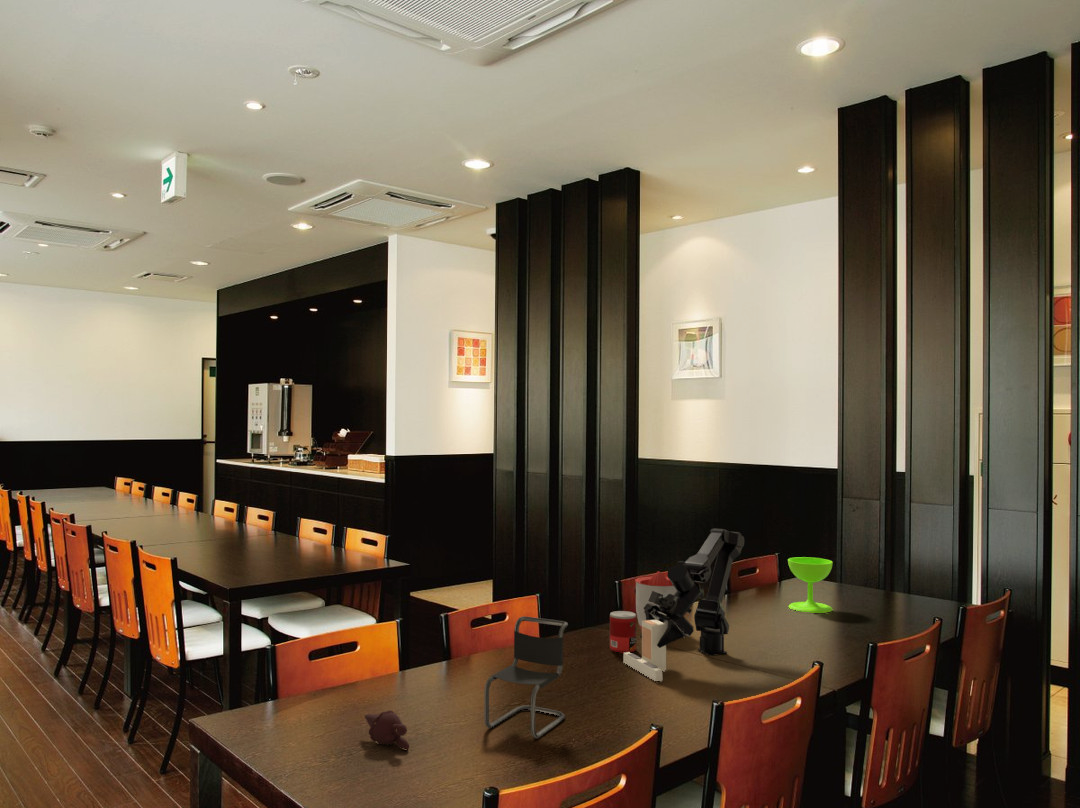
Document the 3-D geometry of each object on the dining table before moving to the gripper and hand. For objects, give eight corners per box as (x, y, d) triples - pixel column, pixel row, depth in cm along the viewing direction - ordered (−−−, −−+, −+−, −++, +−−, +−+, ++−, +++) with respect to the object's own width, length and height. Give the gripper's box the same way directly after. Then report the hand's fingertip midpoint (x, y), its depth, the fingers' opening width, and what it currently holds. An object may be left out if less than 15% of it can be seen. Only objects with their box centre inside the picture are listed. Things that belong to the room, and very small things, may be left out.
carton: (655, 665, 224) (655, 619, 224) (666, 671, 219) (666, 623, 219) (641, 667, 222) (641, 620, 222) (651, 673, 217) (651, 624, 217)
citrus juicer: (684, 640, 250) (684, 577, 251) (630, 635, 256) (630, 573, 257) (691, 628, 265) (691, 569, 266) (640, 624, 271) (640, 566, 271)
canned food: (635, 654, 235) (635, 617, 235) (608, 652, 236) (608, 615, 237) (637, 647, 242) (637, 611, 243) (611, 646, 244) (611, 610, 244)
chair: (570, 716, 184) (570, 621, 185) (534, 742, 169) (534, 639, 169) (521, 707, 190) (522, 615, 191) (482, 731, 175) (483, 631, 175)
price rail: (629, 662, 227) (629, 651, 227) (662, 681, 210) (662, 669, 210) (623, 663, 226) (623, 652, 226) (655, 682, 209) (655, 669, 209)
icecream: (348, 709, 170) (389, 734, 160) (376, 693, 175) (418, 716, 165) (353, 738, 171) (394, 764, 161) (381, 720, 177) (423, 745, 166)
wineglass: (839, 614, 287) (839, 564, 288) (795, 613, 288) (795, 564, 288) (824, 604, 303) (824, 557, 304) (782, 604, 304) (782, 557, 304)
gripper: (649, 575, 231) (615, 616, 227) (684, 587, 214) (648, 631, 210) (672, 599, 234) (639, 641, 230) (708, 613, 217) (674, 658, 212)
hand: (649, 642), depth 220 cm, fingers open, 9 cm apart
